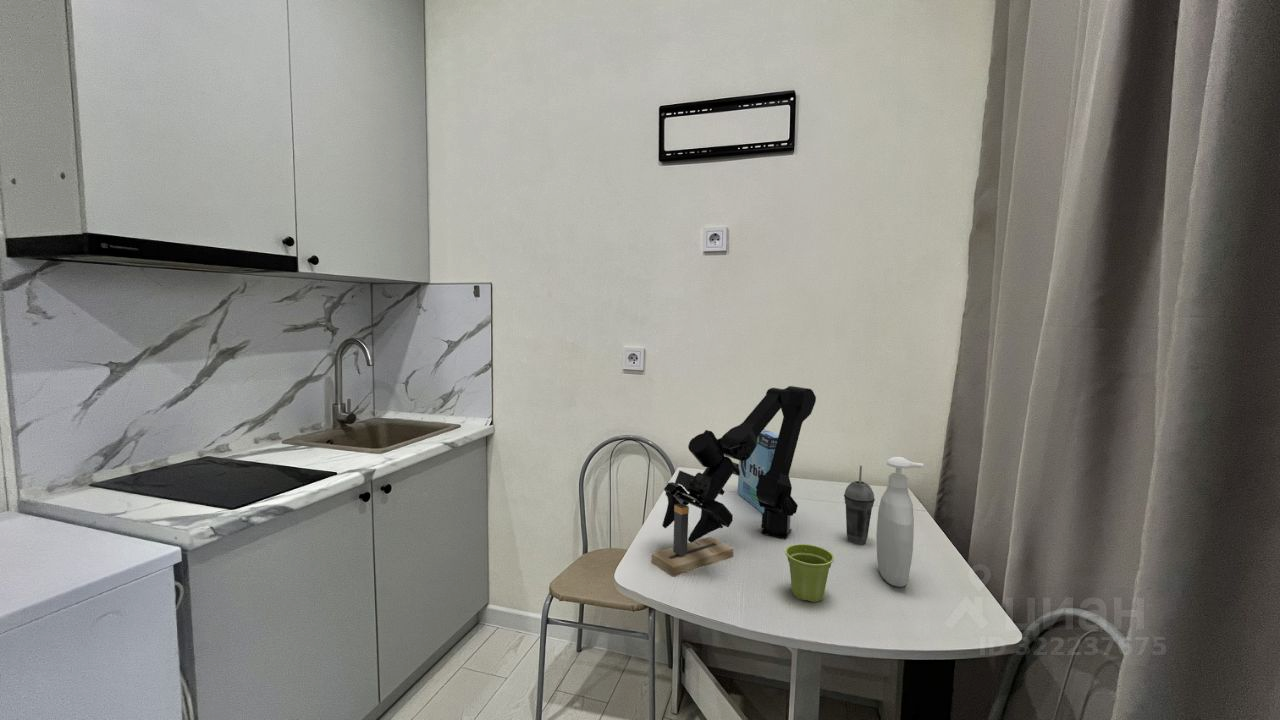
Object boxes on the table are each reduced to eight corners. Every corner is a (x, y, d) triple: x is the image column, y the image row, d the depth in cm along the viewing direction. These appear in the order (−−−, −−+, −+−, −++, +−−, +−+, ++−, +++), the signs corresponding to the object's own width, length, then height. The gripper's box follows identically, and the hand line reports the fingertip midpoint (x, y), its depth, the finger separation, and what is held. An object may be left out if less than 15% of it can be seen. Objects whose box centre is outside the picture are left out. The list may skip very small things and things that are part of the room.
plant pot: (807, 611, 100) (810, 568, 99) (773, 589, 108) (775, 548, 107) (842, 600, 104) (844, 558, 103) (807, 579, 112) (808, 540, 112)
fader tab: (680, 549, 120) (681, 503, 119) (687, 553, 118) (688, 506, 117) (672, 551, 118) (674, 504, 118) (680, 556, 116) (681, 508, 116)
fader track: (710, 544, 129) (710, 536, 129) (733, 556, 122) (733, 547, 122) (651, 562, 119) (651, 553, 118) (673, 576, 112) (673, 567, 112)
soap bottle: (927, 597, 106) (935, 467, 104) (884, 592, 108) (892, 464, 106) (905, 564, 120) (912, 450, 118) (867, 560, 122) (874, 448, 120)
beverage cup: (872, 538, 135) (876, 463, 133) (872, 549, 128) (876, 470, 127) (842, 533, 138) (846, 459, 136) (840, 543, 131) (844, 466, 130)
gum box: (737, 493, 168) (740, 423, 166) (751, 492, 169) (754, 423, 167) (764, 515, 149) (767, 437, 147) (780, 514, 150) (784, 437, 148)
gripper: (671, 449, 126) (632, 501, 121) (725, 468, 111) (684, 528, 106) (694, 476, 131) (658, 527, 126) (749, 497, 116) (711, 557, 111)
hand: (676, 534), depth 117 cm, fingers open, 9 cm apart
